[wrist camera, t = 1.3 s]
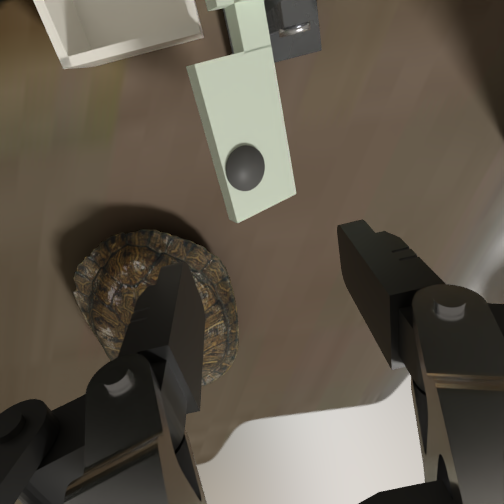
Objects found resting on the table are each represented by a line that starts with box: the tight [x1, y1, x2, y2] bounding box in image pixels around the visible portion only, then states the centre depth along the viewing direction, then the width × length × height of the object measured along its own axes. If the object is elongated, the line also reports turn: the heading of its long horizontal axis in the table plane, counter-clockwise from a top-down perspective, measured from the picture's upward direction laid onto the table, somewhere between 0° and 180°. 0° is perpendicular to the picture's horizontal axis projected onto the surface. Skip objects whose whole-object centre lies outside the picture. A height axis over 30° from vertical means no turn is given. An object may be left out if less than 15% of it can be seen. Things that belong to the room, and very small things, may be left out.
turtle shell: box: [73, 229, 239, 386], centre depth 37 cm, size 16×9×20 cm
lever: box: [186, 0, 296, 223], centre depth 20 cm, size 17×17×4 cm
